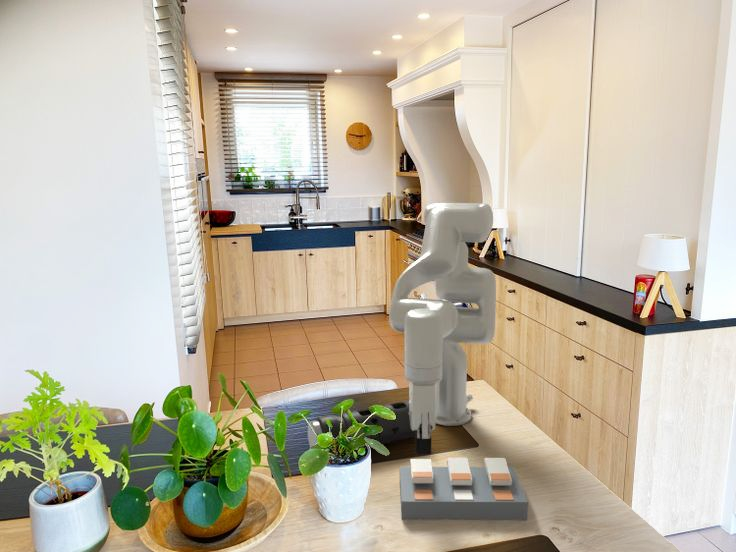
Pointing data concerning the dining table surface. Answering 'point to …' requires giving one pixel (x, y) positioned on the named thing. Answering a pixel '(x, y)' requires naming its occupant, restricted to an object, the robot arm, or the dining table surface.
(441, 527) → the dining table surface
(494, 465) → the switch
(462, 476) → the switch
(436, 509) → the console
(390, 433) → the muzzle brake
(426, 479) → the switch
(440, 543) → the dining table surface
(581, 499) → the dining table surface
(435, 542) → the dining table surface
